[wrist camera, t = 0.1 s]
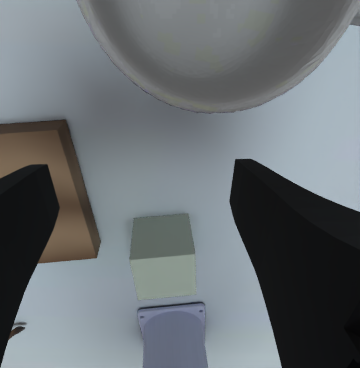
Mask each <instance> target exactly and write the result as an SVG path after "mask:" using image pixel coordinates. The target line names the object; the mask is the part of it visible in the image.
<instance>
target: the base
mask: <svg viewBox="0 0 360 368" xmlns="http://www.w3.org/2000/svg"><path fill="white" fill-rule="evenodd" d="M32 164H48V168H49V171H50V175H51V178H52V182H53V185H54V189H55V192H56V196H57V199H58V202H59V206H60V210H59V213H58V217H57V220H56V224H55V227H54V230H53V232H52V234H51V236H50V239H49V241H48V243H47V245H46V247H45V249H44V251H43V253H42V255H41V257H40V260H39V262H38V263H49V262H60V261H71V260H82V259H92V258H97V255H98V251H99V247H100V243H101V241H100V238H99V234H98V231H97V227H96V224H95V220H94V217H93V213H92V210H91V206H90V203H89V199H88V196H87V192H86V189H85V185H84V182H83V178H82V175H81V171H80V168H79V164H78V161H77V157H76V154H75V150H74V147H73V143H72V140H71V136H70V133H69V129H68V126H67V122H66V120H55V121H41V122H27V123H12V124H0V178H2V177H4V176H6V175H8V174H10V173H12V172H14V171H16V170H18V169H20V168H23V167H25V166H28V165H32Z"/></svg>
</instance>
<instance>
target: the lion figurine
mask: <svg viewBox="0 0 360 368" xmlns="http://www.w3.org/2000/svg"><path fill="white" fill-rule="evenodd" d="M24 329H25V327H21V326H19V327H17V328H15V329H13V330H12V331H11V333H10V336H9V339H10V338H11V337H12V336H14V335H16V334H18V333H19V332H21V331H22V330H24Z"/></svg>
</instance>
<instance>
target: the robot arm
mask: <svg viewBox="0 0 360 368" xmlns="http://www.w3.org/2000/svg"><path fill="white" fill-rule="evenodd" d="M230 205H231V210H232V214H233V217H234V221H235V224H236V226H237V229H238V231H239V233H240V236H241V238H242V241H243V243H244V245H245V248H246V250H247V252H248V255H249V257H250V259H251V262H252V264H253V267H254V269H255V272H256V275H257V277H258V280H259V284H260V287H261V290H262V294H263V297H264V300H265V304H266V307H267V311H268V315H269V318H270V322H271V326H272V329H273V333H274V337H275V341H276V345H277V349H278V353H279V357H280V361H281V366H282V368H360V212H359V211H356V210H353V209H350V208H347V207H345V206H342V205H340V204H337V203H335V202H333V201H330V200H328V199H325V198H323V197H321V196H319V195H317V194H314V193H312V192H310V191H308V190H306V189H304V188H303V187H301V186H299V185H297V184H295V183H293V182H291V181H289V180H288V179H286V178H284V177H282V176H281V175H279V174H277V173H276V172H274V171H272V170H270V169H269V168H267V167H265V166H264V165H262V164H260V163H258V162H256V161H254V160H252V159H235V165H234V173H233V180H232V187H231V194H230ZM59 210H60V206H59V202H58V199H57V196H56V192H55V189H54V185H53V182H52V178H51V175H50V171H49V168H48V164H32V165H28V166H25V167H23V168H20V169H18V170H16V171H14V172H12V173H10V174H8V175H6V176H4V177H2V178H0V367H1V363H2V360H3V356H4V353H5V349H6V346H7V343H8V340H9V336H10V333H11V330H12V327H13V324H14V321H15V318H16V315H17V312H18V309H19V306H20V303H21V301H22V298H23V295H24V292H25V290H26V287H27V285H28V283H29V280H30V278H31V276H32V274H33V272H34V270H35V268H36V266H37V264H38V262H39V260H40V257H41V255H42V253H43V251H44V249H45V247H46V245H47V243H48V241H49V239H50V236H51V234H52V232H53V230H54V227H55V224H56V220H57V217H58V213H59ZM137 315H138V320H139V324H140V328H141V333H142V337H143V341H144V348H143V368H208V363H207V356H206V350H205V305H204V304H202V303H199V304H189V305H179V306H169V307H159V308H149V309H140V310H138V312H137Z"/></svg>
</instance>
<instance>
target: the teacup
mask: <svg viewBox="0 0 360 368" xmlns="http://www.w3.org/2000/svg"><path fill="white" fill-rule="evenodd" d="M76 1H77V3H78V5H79V7H80V9H81V12H82V14H83V16H84V18H85V20H86V22H87V24H88V25H89V27H90V29H91V31H92V33H93V35H94V37H95V38H96V39H97V41H98V42H99V44H100V46H101V48H102V49H103V50H104V51H105V52H106V53H107V55H108V56H109V58H110V59H111V60H112V62H113V63H114V64H115V65H116V66H117V67H118V69H119V70H120V71H121V72H122V73H123V74H124V75H125V76H127V77H128V78H129V79H130V80H131V81H132V82H133V83H134V84H136V85H137V86H139V87H140V88H141V89H142V90H143V91H145V92H146V93H148V94H150V95H152V96H154V97H155V98H157V99H158V100H161V101H163V102H165V103H167V104H169V105H171V106H176V107H179V108H181V109H185V110H189V111H193V112H196V113H200V112H202V113H209V114H211V113H214V112H216V113H227V112H235V111H242V110H246V109H250V108H253V107H256V106H260V105H262V104H264V103H266V102H268V101H270V100H272V99H274V98H276V97H278V96H280V95H282V94H284V93H286V92H287V91H289V90H290V89H292V88H293V87H294V86H296V85H297V84H299V83H300V82H301V81H303V80H304V78H305V77H307V76H308V75H309V74H310V73H312V72H313V71H314V70H315V69H316V68H317V67H318V66H319V65H320V63H321V62H322V61H323V60H324V59H325V58H326V57H327V55H328V54H329V53H330V52H331V50H332V49H333V48H334V46H335V45H336V44H337V42H338V41H339V39H340V38H341V37H342V35H343V34H344V32H345V31H346V29H347V28H348V26H349V25H356V26H360V0H76Z"/></svg>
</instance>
